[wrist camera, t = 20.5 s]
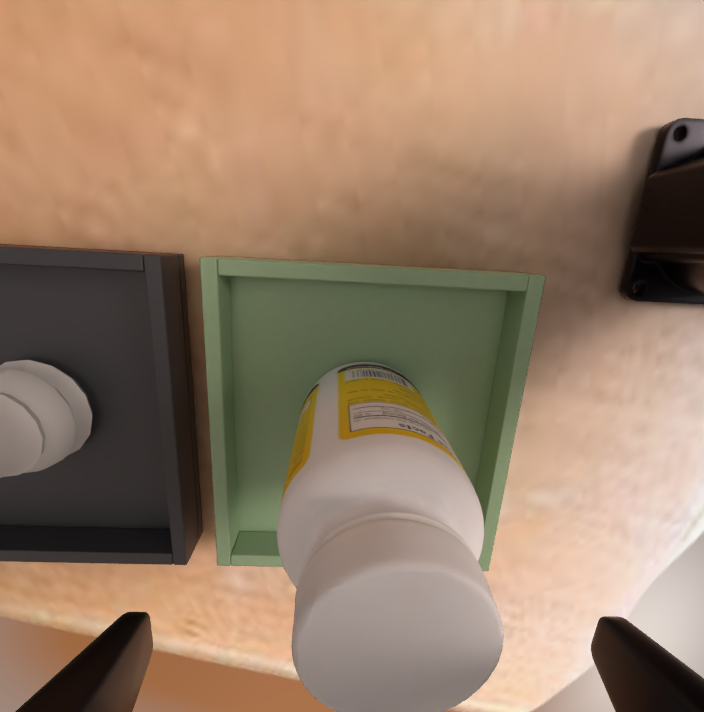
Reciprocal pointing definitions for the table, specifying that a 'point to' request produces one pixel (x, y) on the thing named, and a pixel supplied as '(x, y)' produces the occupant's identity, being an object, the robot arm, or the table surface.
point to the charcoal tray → (105, 406)
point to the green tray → (348, 345)
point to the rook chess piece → (39, 417)
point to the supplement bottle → (383, 551)
